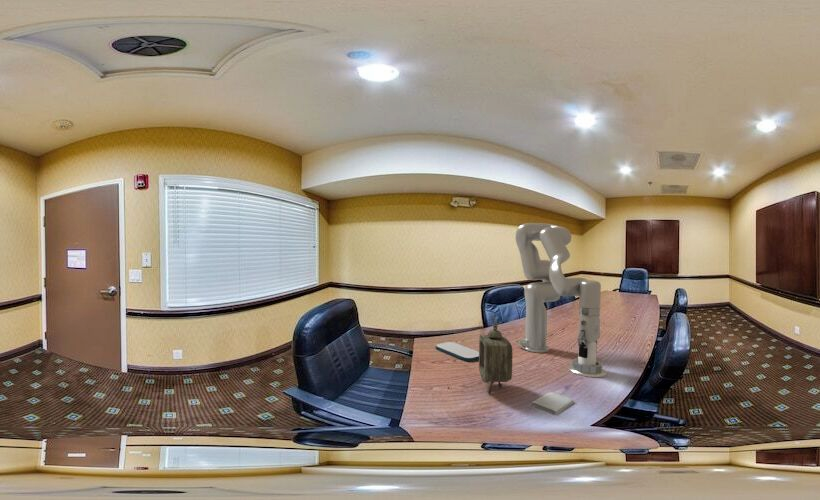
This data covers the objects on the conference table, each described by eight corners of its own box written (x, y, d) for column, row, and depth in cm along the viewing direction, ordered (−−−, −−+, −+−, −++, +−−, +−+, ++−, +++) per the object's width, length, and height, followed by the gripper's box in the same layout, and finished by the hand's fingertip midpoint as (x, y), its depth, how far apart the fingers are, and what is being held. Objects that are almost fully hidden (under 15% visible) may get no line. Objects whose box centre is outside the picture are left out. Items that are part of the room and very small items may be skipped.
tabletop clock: (478, 379, 138) (479, 312, 137) (502, 379, 138) (504, 313, 137) (484, 396, 124) (486, 322, 123) (512, 396, 124) (514, 322, 122)
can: (595, 368, 150) (596, 338, 150) (596, 373, 144) (597, 342, 144) (577, 365, 153) (578, 336, 152) (578, 370, 147) (578, 340, 147)
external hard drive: (486, 358, 162) (486, 354, 162) (467, 363, 156) (467, 359, 155) (451, 345, 181) (451, 341, 181) (432, 349, 175) (432, 345, 175)
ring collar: (575, 376, 142) (576, 367, 142) (563, 363, 156) (563, 355, 156) (613, 378, 141) (614, 369, 141) (597, 365, 155) (597, 356, 155)
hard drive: (556, 411, 112) (574, 399, 120) (531, 401, 118) (550, 390, 126) (555, 416, 112) (573, 404, 120) (530, 406, 118) (549, 395, 126)
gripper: (589, 316, 139) (587, 362, 140) (607, 310, 150) (606, 353, 151) (569, 312, 144) (568, 357, 145) (589, 307, 156) (587, 348, 157)
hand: (587, 354), depth 148 cm, fingers open, 8 cm apart
